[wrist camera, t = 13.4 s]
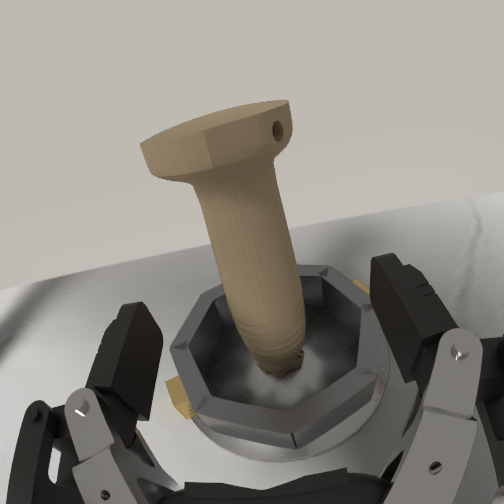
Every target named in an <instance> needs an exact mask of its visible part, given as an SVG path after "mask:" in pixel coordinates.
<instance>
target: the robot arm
mask: <svg viewBox="0 0 504 504" xmlns="http://www.w3.org/2000/svg"><path fill="white" fill-rule="evenodd" d="M369 293H370V301H371V305H372V308H373V310H374V312H375V314H376V316H377V319H378V321H379V323H380V325H381V327H382V330H383V332H384V334H385V336H386V339H387V341H388V343H389V346H390V348H391V350H392V353H393V355H394V357H395V360H396V362H397V365H398V367H399V370H400V372H401V375H402V377H403V380H404V382H405V383H408V382H411V381H414V380H416V383H417V385H418V389H417V392H416V395H415V398H414V401H413V404H412V406H411V409H410V412H409V415H408V417H407V420H406V422H405V425H404V427H403V430H402V432H401V435H400V437H399V439H398V441H397V443H396V445H395V447H394V449H393V450H392V452H391V454H390V456H389V458H388V460H387V462H386V464H385V466H384V468H383V470H382V472H381V474H380V476H379V477H376V476H373V475H368V474H361V473H348V472H347V467H346V468H342V469H338V470H333V471H328V472H323V473H318V474H313V475H307V476H303V477H301V478H298V479H296V480H293V481H290V482H287V483H285V484H282V485H279V486H276V487H273V488H270V489H266V490H256V489H250V488H244V487H239V486H234V485H229V484H225V483H198V482H185V486H184V489H181V488H180V486H179V485H178V484H177V483H176V482H175V480H174V479H173V478H172V477H170V476H169V475H168V474H167V473H166V472H165V471H164V470H163V469H162V467H161V466H160V464H159V463H158V461H157V460H156V458H155V457H154V455H153V453H152V452H151V450H150V448H149V447H148V445H147V443H146V442H145V440H144V438H143V436H142V435H141V433H140V431H139V430H138V429H137V428H136V424H137V420H138V421H149V418H150V412H151V406H152V400H153V394H154V389H155V383H156V378H157V373H158V368H159V363H160V358H161V353H162V348H163V335H162V332H161V330H160V328H159V326H158V325H157V323H156V321H155V320H154V318H153V317H152V315H151V313H150V312H149V310H148V308H147V307H146V305H145V304H144V303H143V302H136V303H129V304H124V305H122V306H121V308H120V310H119V313H118V315H117V318H116V319H115V320H113V321H112V323H111V324H110V325H109V326H108V328H107V329H106V330H105V333H104V335H103V338H102V341H101V344H100V346H99V349H98V353H97V354H96V357H95V360H94V362H93V365H92V368H91V371H90V374H89V377H88V380H87V383H86V386H85V388H81V389H78V390H76V391H75V392H73V393H72V394H71V395H70V396H69V398H68V399H67V401H66V404H65V405H62V406H58V407H54V408H51V407H50V406H49V405H47V404H46V403H45V402H44V401H41V400H37V401H35V402H33V403H32V404H31V405H30V406H29V407H28V408H27V410H26V412H25V415H24V418H23V422H22V425H21V429H20V433H19V436H18V440H17V444H16V449H15V453H14V458H13V462H12V467H11V473H10V479H9V485H8V492H7V500H6V504H452V503H453V500H454V498H455V496H456V493H457V491H458V488H459V486H460V483H461V480H462V478H463V475H464V472H465V469H466V466H467V463H468V460H469V457H470V454H471V450H472V447H473V443H474V440H475V436H476V432H477V420H476V419H475V418H473V411H474V406H475V404H476V407H477V410H478V413H479V416H480V419H481V422H482V425H483V428H484V431H485V434H486V437H487V441H488V444H489V448H490V451H491V455H492V459H493V463H494V467H495V471H496V476H497V481H498V486H499V489H498V491H497V492H496V494H495V496H494V498H493V500H492V501H491V503H490V504H504V335H503V337H497V338H486V339H479V338H478V337H477V336H476V335H475V334H474V333H473V332H471V331H469V330H467V329H462V328H459V327H458V326H457V324H456V323H455V321H454V320H453V318H452V316H451V315H450V313H449V312H448V310H447V309H446V307H445V306H444V304H443V303H442V301H441V300H440V298H439V297H438V295H437V294H435V291H434V289H433V288H432V286H431V285H429V282H428V281H427V279H426V278H425V277H424V275H423V274H422V272H420V271H419V270H417V269H416V268H414V267H413V266H411V265H410V264H408V265H404V266H403V265H402V263H401V262H400V260H399V259H398V258H397V256H396V255H395V254H394V253H389V254H385V255H380V256H376V257H373V258H372V259H371V272H370V290H369ZM52 447H53V448H55V449H57V450H58V451H60V452H61V457H60V463H59V469H58V476H57V481H56V483H55V484H54V483H53V482H51V480H50V479H49V476H48V469H49V463H50V458H51V452H52Z"/></svg>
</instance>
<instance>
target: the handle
mask: <svg viewBox="0 0 504 504" xmlns="http://www.w3.org/2000/svg"><path fill="white" fill-rule="evenodd" d="M292 130H293V128H292V118H291V112H290V107H289V102H288V100H276V101H267V102H260V103H253V104H247V105H242V106H238V107H234V108H229V109H225V110H222V111H218V112H215V113H211V114H208V115H205V116H201V117H198V118H195V119H192V120H190V121H187V122H184V123H182V124H179V125H177V126H174V127H172V128H169V129H167V130H165V131H163V132H160V133H158V134H156V135H154V136H152V137H151V138H149V139H147V140H145V141H143V142H142V143H140V146H141V149H142V152H143V155H144V158H145V161H146V163H147V166H148V168H149V171H150V172H151V174H152V175H154V176H156V177H159V178H162V179H166V180H170V181H178V182H185V183H189V184H191V185H193V187H194V190H195V192H196V195H197V197H198V200H199V202H200V205H201V208H202V212H203V215H204V219H205V223H206V226H207V230H208V233H209V237H210V240H211V244H212V248H213V251H214V255H215V259H216V262H217V266H218V270H219V273H220V277H221V281H222V284H223V288H224V291H225V295H226V298H227V302H228V305H229V309H230V311H231V314H232V317H233V319H234V322H235V324H236V327H237V329H238V331H239V333H240V335H241V337H242V339H243V341H244V343H245V344H246V346H247V348H248V349H249V351H250V352H251V354H252V355H253V356H254V357H255V358H254V361H255V362H256V364H257V366H258V367H259V368H260V369H261V371H264V372H265V371H268V372H271V373H273V374H274V375H275V376H276V377H282V376H284V374H286V373H287V372H288V371H290V370H292V369H295V368H299V367H300V366H301V365H302V363H303V360H304V351H303V350H302V349H303V346H304V341H305V308H304V300H303V292H302V286H301V281H300V277H299V273H298V268H297V264H296V260H295V256H294V251H293V247H292V243H291V239H290V235H289V231H288V226H287V222H286V218H285V214H284V210H283V206H282V202H281V198H280V193H279V189H278V186H277V180H276V175H275V168H274V163H273V162H274V158H275V157H276V156H277V155H278V154H279V153H280V152H281V151H282V150H283V149H284V148H285V147H286V146H287V144H288V143H289V141H290V138H291V136H292Z"/></svg>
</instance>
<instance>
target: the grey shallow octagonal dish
mask: <svg viewBox="0 0 504 504" xmlns="http://www.w3.org/2000/svg"><path fill="white" fill-rule="evenodd" d="M297 268H298V273H299V277H300V281H301V286H302V292H303V300H304V308H305V341H304V346H303V349H302V350H303V351H304V360H303V363H302V365H301V366H300V367H299V368H295V369H292V370H290V371H288V372H287V373H286V374H284V376H282V377H276V376H275V375H274V374H273V373H271V372H268V371H265V372H264V371H261V369H260V368H259V367H258V366H257V364H256V362H255V361H254V358H255V357H254V356H253V355H252V354H251V352H250V351H249V349H248V348H247V346H246V344H245V343H244V341H243V339H242V337H241V335H240V333H239V331H238V329H237V327H236V324H235V322H234V319H233V317H232V314H231V311H230V309H229V305H228V302H227V298H226V295H225V291H224V288H223V284H221V285H219V286H217V287H215V288H212V289H210V290H208V291H206V292H204V293H203V294H201V296H200V297H199V299H198V301H197V302H196V304H195V306H194V307H193V309H192V311H191V312H190V314H189V316H188V317H187V319H186V321H185V322H184V324H183V326H182V327H181V329H180V331H179V332H178V334H177V336H176V337H175V339H174V341H173V342H172V344H171V346H170V352H171V355H172V358H173V360H174V363H175V366H176V368H177V371H178V374H179V376H177V377H175V378H173V379H170V380H168V381H166V382H165V383H166V386H167V389H168V391H169V394H170V397H171V400H172V403H173V405H174V407H175V408H176V409H177V410H178V411H179V412H180V413H181V414H182V415H183V416H184V417H185V418H186V419H190V418H191V419H192V420H193V422H194V423H195V424H196V426H197V427H198V428H199V429H200V430H201V431H202V432H203V433H204V434H205V435H206V436H207V437H208V438H209V439H210V440H212V441H213V442H215V443H216V444H217V445H219V446H220V447H222V448H223V449H225V450H227V451H230V452H232V453H234V454H236V455H239V456H242V457H245V458H248V459H253V460H259V461H265V462H288V461H296V460H302V459H306V458H309V457H313V456H317V455H319V454H321V453H324V452H326V451H329V450H331V449H333V448H334V447H336V446H338V445H340V444H341V443H343V442H345V441H346V440H347V439H349V438H350V437H351V436H352V435H354V434H355V433H356V432H357V431H358V430H359V429H360V428H361V427H362V426H363V425H364V424H365V423H366V422H367V421H368V420H369V418H370V417H371V415H372V414H373V413H374V411H375V410H376V408H377V406H378V404H379V402H380V400H381V398H382V396H383V393H384V391H385V387H386V384H387V380H388V376H389V367H390V360H389V350H388V345H387V341H386V339H385V336H384V334H383V331H382V330H381V325H380V323H379V321H378V319H377V316H376V314H375V312H374V310H373V308H372V305H371V301H370V293H369V290H370V289H369V288H368V287H367V286H365V285H364V284H363V283H361V282H360V281H358V280H357V279H356V280H354V281H353V282H352V281H350V280H349V279H348V278H346V277H345V276H344V275H342V274H341V273H339V272H338V271H337V270H335V269H334V268H333V267H331V266H330V267H329V266H327V265H297Z"/></svg>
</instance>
